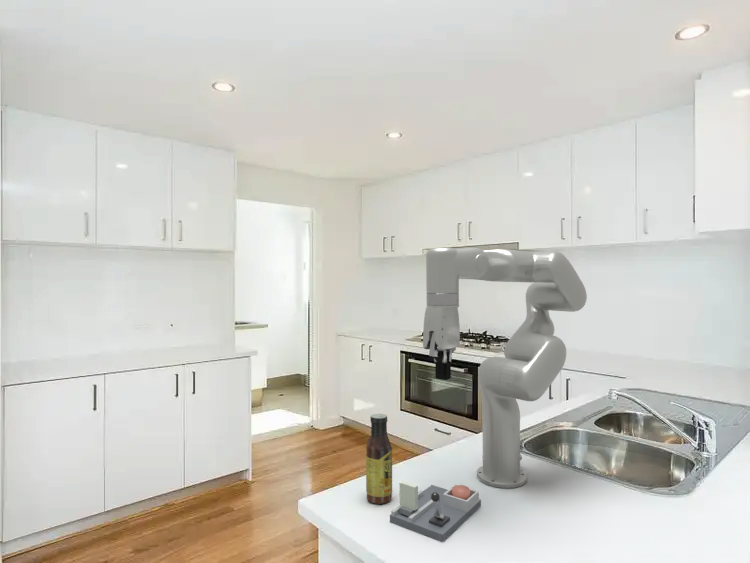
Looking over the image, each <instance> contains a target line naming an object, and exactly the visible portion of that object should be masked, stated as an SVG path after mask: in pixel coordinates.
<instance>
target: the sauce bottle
mask: <svg viewBox="0 0 750 563" xmlns="http://www.w3.org/2000/svg"><path fill="white" fill-rule="evenodd" d="M387 422H388V415H386V414H384V413H374V414H371V415H370V424H371V425H370V426H371V428H370V429H371V431H370V435H369V436H370V437H369V438H368V440H367V442H366V455H365V464H366V465H365V467H366V468H365V471H366V472H365V477H366V479H365V481H366V482H365V484H366V485H365V487H366V490H365V491H366V499H367V500H368V502H370V503H372V504H378V505H382V504H385V503H386V504H387V503H388V502H390V501H391V500H392V497H393V496H392V495H393V448H392V445H391V442H390V439H389V437H388V436H389V435H388V431H387V430H388V429H387V428H388V426H387Z"/></svg>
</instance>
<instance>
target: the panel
mask: <svg viewBox="0 0 750 563" xmlns="http://www.w3.org/2000/svg"><path fill="white" fill-rule="evenodd" d="M456 485H457V484H454V485H453V486H452V487H454V486H456ZM452 487H451V488H449V489H447V488H443V487H440V486H437V485H434V484H431V485H430V486H427V487H426V488H425V489H424V490H421V489H420V490H418V510H417V511H416V512H415V513H413V514H412V515H411V516H406V515H403V514H401V513H399V507H401V506H400V504H399V505H398V506H396V507H395V508H394V509H392V510H391V511H390V514H389V522H390V523H392V524H395V525H397V526H399V527H403V528H404V527H405V529H407V530H410V531H412V532H415V533H417V534H420V535H422V536H425V537H428V538H431V539H433V540H436V541H439V542H442V543H444V542H445V541H446V540H447V539H448V538H449V537H450V536H451V535H452V534H453V533H454V532H455V531H456V530H458V528H459V527H461V526H462V525H463V524H464V523H465V522H466V521H467V520H468V519H469V518H471V516H472V515H473V514H474V513H476V512H477V510H479V508H481V507H482V500H481V499H480V491H479V490H476V489H472V488H470V497H469V498H468V499H467V500H464V499H461V498H457V497H454V496H452ZM434 492H436V493H438V494H439V496H440V498H439V504H440V508H441V513H442V514H443V515H445V518H444V520H442V519H439V518H436V517H434V513H435V512H436V511H435V506H434V502H433V501H432V499H431V494H432V493H434Z"/></svg>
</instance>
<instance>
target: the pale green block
mask: <svg viewBox="0 0 750 563" xmlns="http://www.w3.org/2000/svg"><path fill="white" fill-rule="evenodd" d="M398 487H399V505H400V506H401V507H399V513H401V514H403V515H406V516H411V515H412V514H413V513H415V512H416V511H417V510H418V492H419V485H417V484H414V483H410V482H408V481H405V480H401V481H399V486H398Z"/></svg>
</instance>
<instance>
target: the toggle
mask: <svg viewBox="0 0 750 563" xmlns="http://www.w3.org/2000/svg"><path fill="white" fill-rule="evenodd" d="M439 498H440V496H439V494H438V493H436V492H434V493H432V494H431V499H432V501H433V502H434V506H435V511H436V512H435V513H434V517H436V518H439V519H442V520H444V518H445V515H443V514H442V513H441V508H440V504H439Z"/></svg>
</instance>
